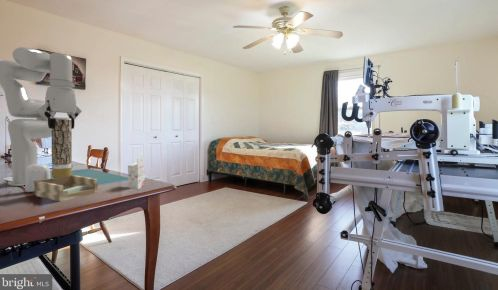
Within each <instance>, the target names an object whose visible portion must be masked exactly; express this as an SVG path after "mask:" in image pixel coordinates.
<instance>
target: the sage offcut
mask: <svg viewBox="0 0 498 290" xmlns="http://www.w3.org/2000/svg"><path fill="white" fill-rule="evenodd" d="M85 189H86V185H78V186H75V187H72V188H68V189H65V190H63V195H65V194H70V193H74V192H79V191H82V190H85Z"/></svg>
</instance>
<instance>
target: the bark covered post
mask: <svg viewBox="0 0 498 290" xmlns="http://www.w3.org/2000/svg"><path fill="white" fill-rule="evenodd" d="M54 119H55V129H52V136H51V178H67V177H70V176H71V175H73V173H72V172H73V171H72V169H73V167H72V166H73V165H72V164H73V160H72V159H73V158H72V156H73V153H72V152H73V151H72V150H73V149H72V145H73V144H72V143H73V142H72V141H73V139H72V137H73V136H72V133H73V131H72V130H73V129H72V120H71V118H69V117H54Z"/></svg>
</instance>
